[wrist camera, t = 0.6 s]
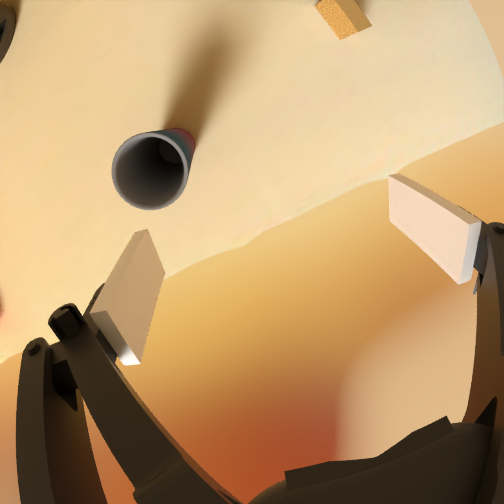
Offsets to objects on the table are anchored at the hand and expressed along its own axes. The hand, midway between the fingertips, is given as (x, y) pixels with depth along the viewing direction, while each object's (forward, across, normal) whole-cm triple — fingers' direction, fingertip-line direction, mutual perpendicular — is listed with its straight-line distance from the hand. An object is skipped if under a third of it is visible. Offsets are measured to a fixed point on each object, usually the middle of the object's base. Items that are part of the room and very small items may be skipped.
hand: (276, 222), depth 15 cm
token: (+25, +16, +17) cm, 34 cm away
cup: (+25, -9, +3) cm, 27 cm away
